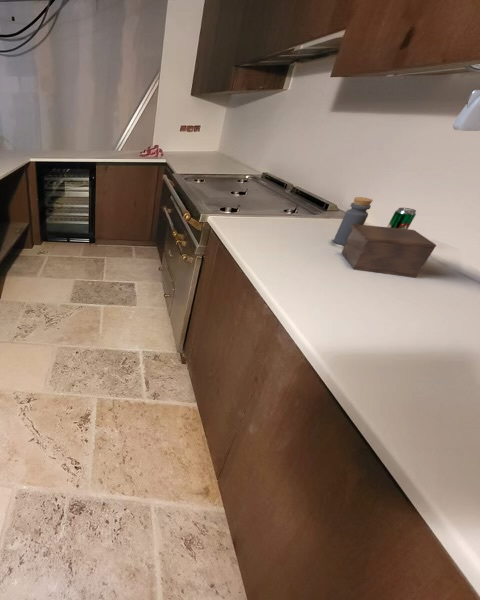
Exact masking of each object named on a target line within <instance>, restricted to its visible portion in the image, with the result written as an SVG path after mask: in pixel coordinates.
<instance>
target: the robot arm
mask: <svg viewBox="0 0 480 600" xmlns="http://www.w3.org/2000/svg"><path fill="white" fill-rule="evenodd" d="M463 67H464V68H465V69H466V70H468V71H470V72H475V73H476V72H477V73H480V64H475V65H471V66H463ZM452 128H453V130H455V131H461V132H463V131H464V132H480V86H479V87H477V88H476V89H474V90H473V91H472V92H471V93H470V95H469V96H468V99H467V100H466V104H465V105H464V106H463V108H462V109H461V111H460V112H459V114H458V115H457V117H456V118H455V120H454V121H453V123H452Z"/></svg>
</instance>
